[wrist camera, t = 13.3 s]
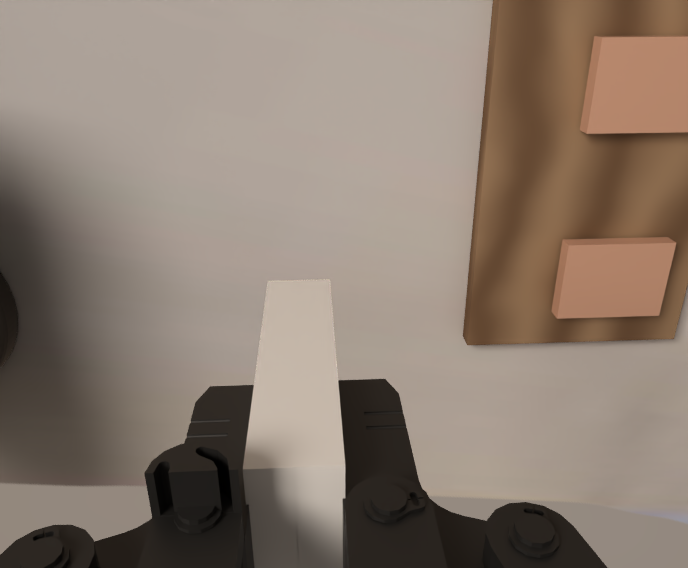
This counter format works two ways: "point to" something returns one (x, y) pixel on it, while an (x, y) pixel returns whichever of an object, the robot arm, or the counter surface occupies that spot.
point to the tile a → (612, 277)
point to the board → (566, 173)
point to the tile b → (637, 85)
